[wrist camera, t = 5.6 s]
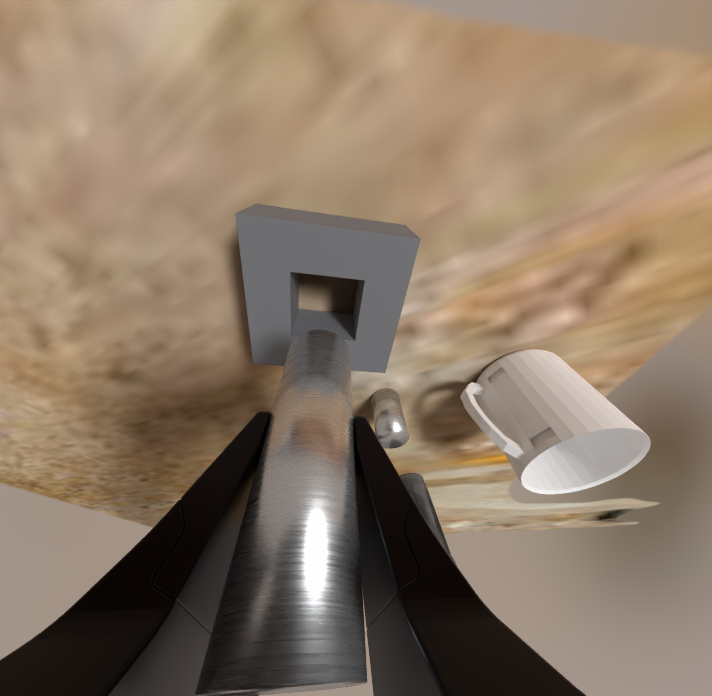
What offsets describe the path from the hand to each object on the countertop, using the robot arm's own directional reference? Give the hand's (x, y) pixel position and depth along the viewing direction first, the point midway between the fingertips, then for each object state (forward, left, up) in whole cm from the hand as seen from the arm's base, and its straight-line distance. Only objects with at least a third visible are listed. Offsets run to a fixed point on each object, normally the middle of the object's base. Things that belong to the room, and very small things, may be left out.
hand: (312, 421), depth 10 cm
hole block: (0, 0, -13) cm, 13 cm away
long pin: (0, 0, -4) cm, 4 cm away
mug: (-8, -19, -13) cm, 25 cm away
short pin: (-12, -7, -13) cm, 19 cm away
